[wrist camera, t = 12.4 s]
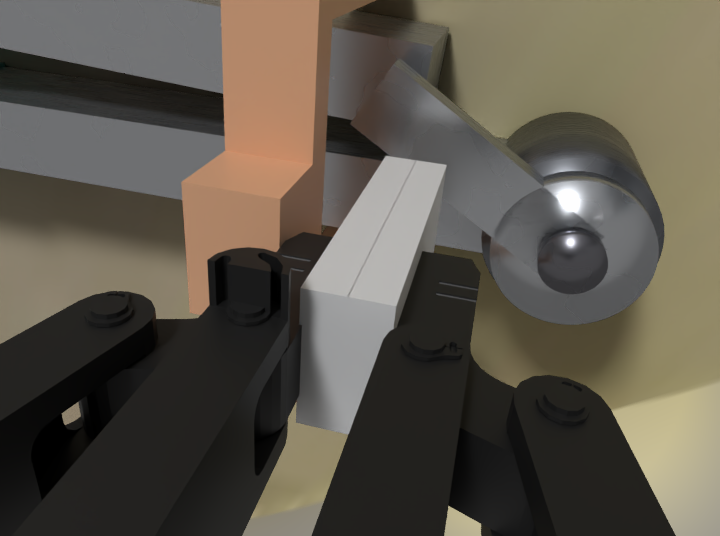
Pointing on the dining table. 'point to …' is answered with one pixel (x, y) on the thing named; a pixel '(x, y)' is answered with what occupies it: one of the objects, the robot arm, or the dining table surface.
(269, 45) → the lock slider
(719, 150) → the dining table surface
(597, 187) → the block
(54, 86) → the ball-hinged grey bar
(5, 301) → the dining table surface
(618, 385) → the dining table surface
